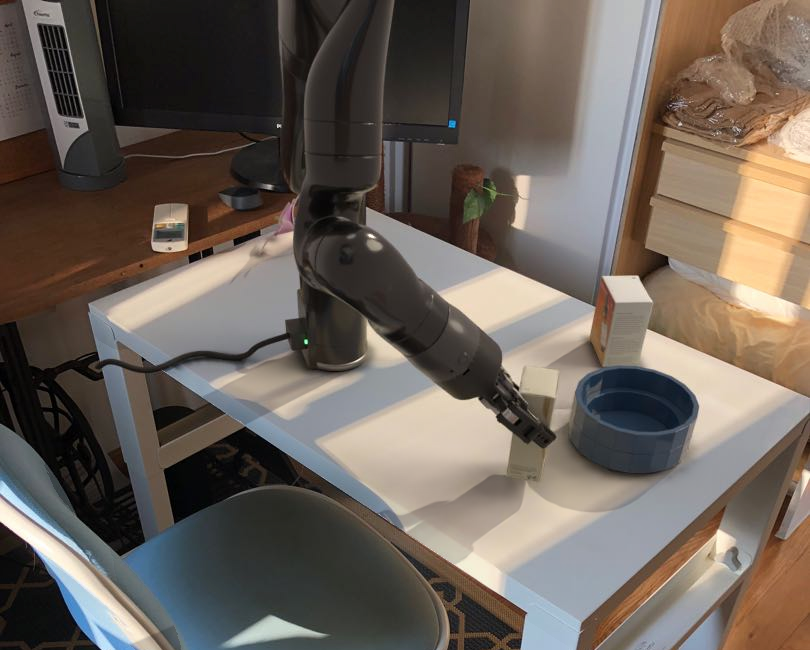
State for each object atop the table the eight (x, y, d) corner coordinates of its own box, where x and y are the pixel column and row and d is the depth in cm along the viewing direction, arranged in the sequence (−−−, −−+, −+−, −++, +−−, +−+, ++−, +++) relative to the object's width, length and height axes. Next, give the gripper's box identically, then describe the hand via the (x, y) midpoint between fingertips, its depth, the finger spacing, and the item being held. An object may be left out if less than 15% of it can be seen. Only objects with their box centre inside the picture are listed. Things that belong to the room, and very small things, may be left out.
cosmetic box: (540, 483, 110) (556, 399, 101) (505, 478, 110) (517, 393, 102) (545, 451, 114) (561, 368, 106) (511, 446, 115) (523, 363, 106)
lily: (298, 232, 165) (268, 186, 159) (344, 224, 157) (314, 176, 151) (263, 276, 160) (230, 231, 154) (308, 270, 152) (275, 223, 146)
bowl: (599, 486, 113) (609, 443, 108) (549, 415, 123) (556, 374, 119) (709, 465, 116) (722, 424, 112) (651, 398, 127) (661, 358, 123)
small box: (588, 339, 138) (600, 274, 131) (624, 338, 139) (638, 274, 131) (601, 368, 132) (614, 302, 125) (638, 367, 133) (654, 301, 126)
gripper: (405, 339, 103) (491, 409, 114) (446, 412, 93) (536, 480, 104) (453, 291, 101) (536, 367, 112) (500, 360, 91) (586, 436, 102)
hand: (536, 422), depth 108 cm, fingers closed on cosmetic box, 7 cm apart
